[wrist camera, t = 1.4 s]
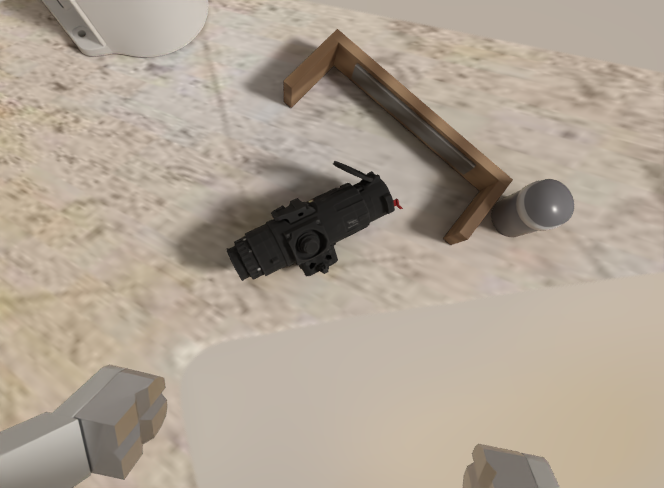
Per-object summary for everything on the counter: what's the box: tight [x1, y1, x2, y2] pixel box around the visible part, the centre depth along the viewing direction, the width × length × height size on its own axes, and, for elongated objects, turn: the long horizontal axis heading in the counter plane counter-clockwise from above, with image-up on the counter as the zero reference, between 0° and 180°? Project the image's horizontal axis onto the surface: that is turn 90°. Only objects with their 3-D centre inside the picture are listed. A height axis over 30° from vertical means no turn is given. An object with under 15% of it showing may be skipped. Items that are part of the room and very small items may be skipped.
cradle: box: [284, 29, 513, 245], centre depth 40 cm, size 26×9×4 cm, turn 49°
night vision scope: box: [226, 161, 403, 281], centre depth 36 cm, size 8×18×10 cm
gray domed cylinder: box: [491, 179, 574, 237], centre depth 40 cm, size 5×5×7 cm
